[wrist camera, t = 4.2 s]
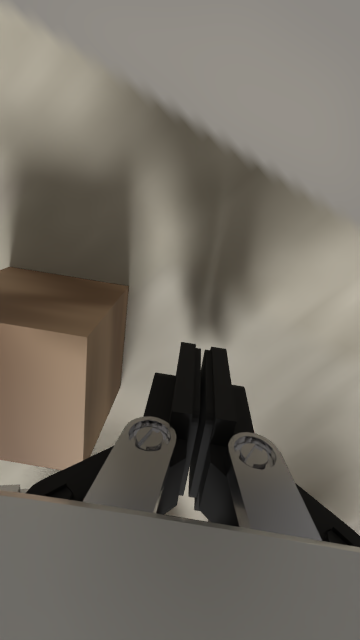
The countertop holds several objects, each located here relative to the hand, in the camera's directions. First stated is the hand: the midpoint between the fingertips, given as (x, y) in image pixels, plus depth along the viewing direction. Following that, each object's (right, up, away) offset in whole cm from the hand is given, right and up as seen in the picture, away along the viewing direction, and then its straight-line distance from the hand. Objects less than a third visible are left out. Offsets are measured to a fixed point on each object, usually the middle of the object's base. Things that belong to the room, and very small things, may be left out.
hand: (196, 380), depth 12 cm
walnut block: (-5, +2, +2) cm, 6 cm away
